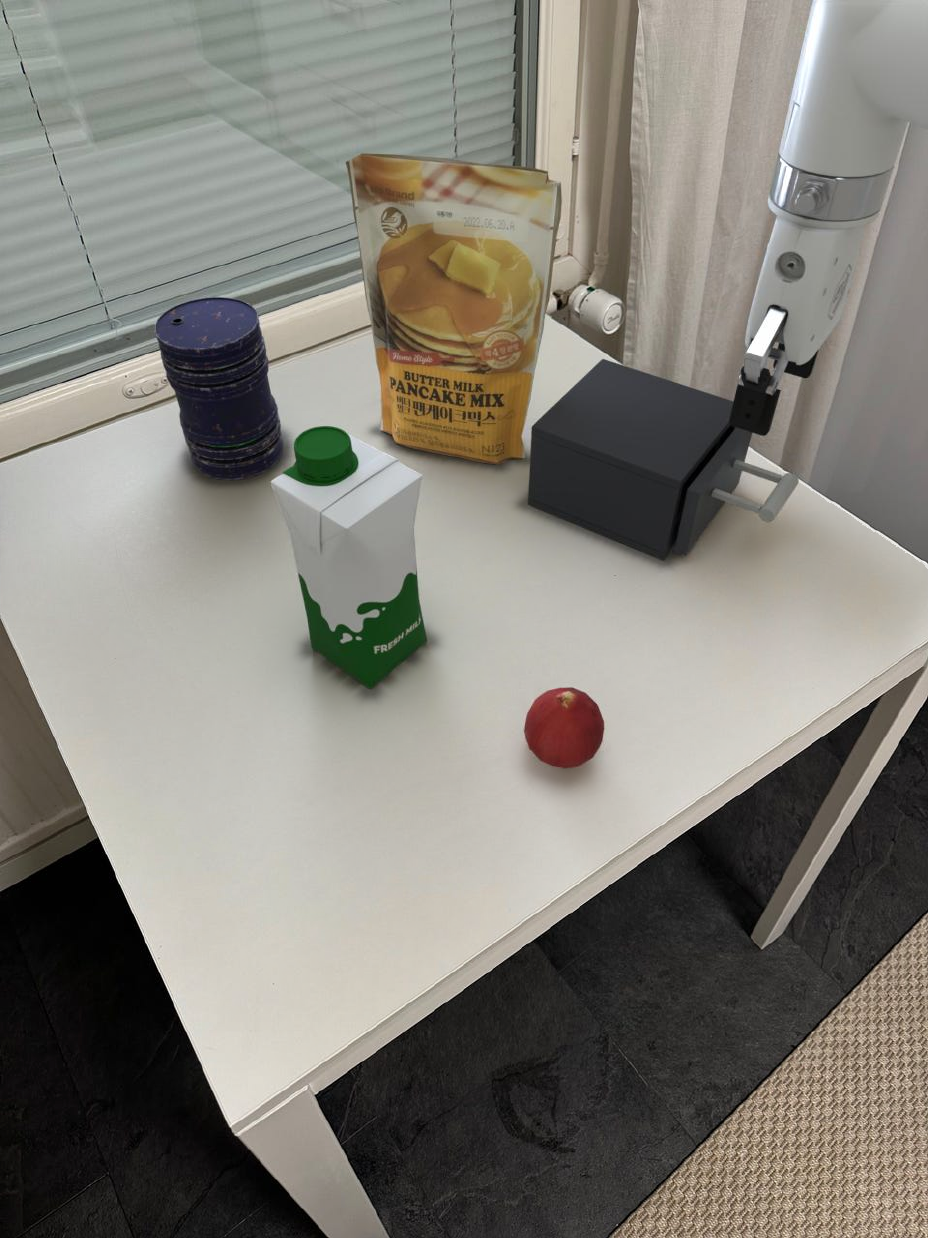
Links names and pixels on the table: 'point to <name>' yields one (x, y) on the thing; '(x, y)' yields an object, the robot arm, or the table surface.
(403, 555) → the milk carton
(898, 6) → the robot arm
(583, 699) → the onion
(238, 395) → the navy blue cylinder
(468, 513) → the table surface
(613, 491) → the cabinet
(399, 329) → the pancake mix bag
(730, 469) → the drawer
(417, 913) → the table surface
